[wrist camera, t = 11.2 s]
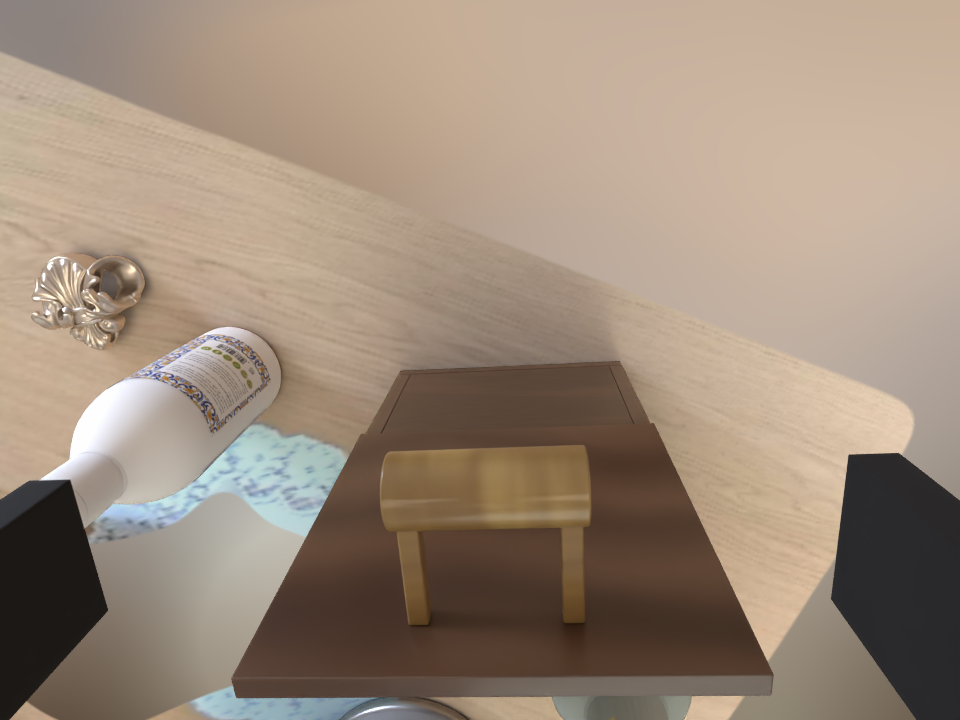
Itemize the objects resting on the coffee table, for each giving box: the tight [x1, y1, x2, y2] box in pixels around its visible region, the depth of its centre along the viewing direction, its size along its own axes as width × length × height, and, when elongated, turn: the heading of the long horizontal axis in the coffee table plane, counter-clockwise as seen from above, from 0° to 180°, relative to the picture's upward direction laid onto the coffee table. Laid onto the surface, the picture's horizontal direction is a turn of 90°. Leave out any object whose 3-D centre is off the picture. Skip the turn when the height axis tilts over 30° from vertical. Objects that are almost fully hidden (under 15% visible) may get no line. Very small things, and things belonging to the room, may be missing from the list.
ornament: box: [31, 253, 145, 350], centre depth 44 cm, size 8×7×4 cm
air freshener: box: [552, 696, 692, 720], centre depth 48 cm, size 11×8×10 cm
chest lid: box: [232, 423, 773, 698], centre depth 25 cm, size 17×16×7 cm
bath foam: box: [40, 327, 281, 528], centre depth 37 cm, size 7×7×20 cm
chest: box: [366, 361, 650, 434], centre depth 42 cm, size 16×16×11 cm
